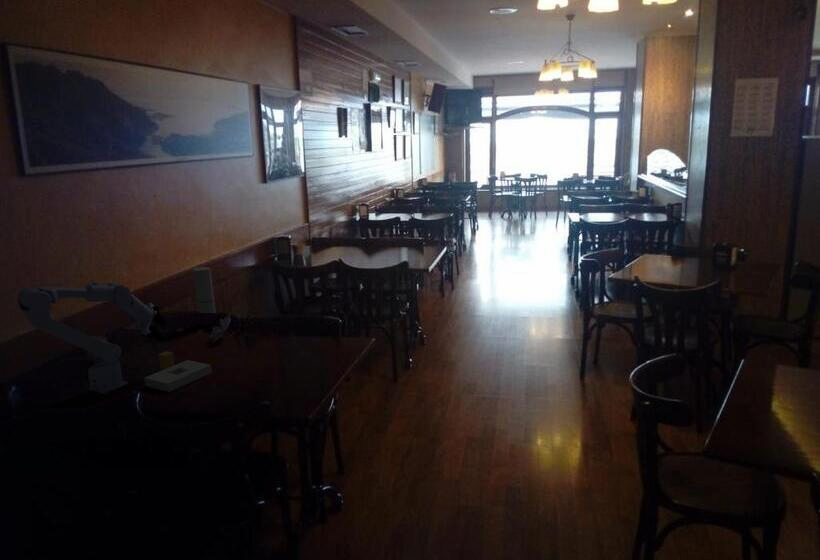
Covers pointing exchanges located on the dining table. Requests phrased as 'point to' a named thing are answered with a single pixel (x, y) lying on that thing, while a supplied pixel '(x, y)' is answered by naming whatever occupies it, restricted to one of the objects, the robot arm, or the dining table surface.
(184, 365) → the well block
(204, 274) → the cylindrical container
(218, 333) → the water lily
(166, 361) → the peg
